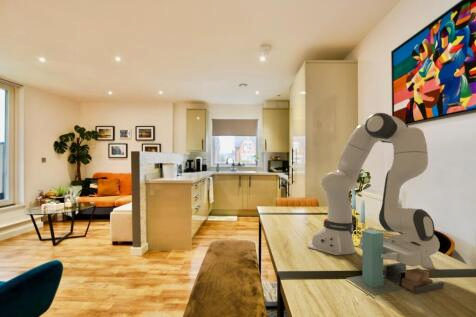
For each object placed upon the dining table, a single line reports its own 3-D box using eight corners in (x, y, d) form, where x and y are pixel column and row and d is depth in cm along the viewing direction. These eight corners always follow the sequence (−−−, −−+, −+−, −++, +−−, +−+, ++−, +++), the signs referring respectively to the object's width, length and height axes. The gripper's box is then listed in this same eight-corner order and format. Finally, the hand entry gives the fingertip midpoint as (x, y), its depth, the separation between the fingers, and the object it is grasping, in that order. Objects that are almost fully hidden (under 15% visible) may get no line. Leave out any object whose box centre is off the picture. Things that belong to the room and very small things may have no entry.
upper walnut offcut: (416, 283, 79) (416, 275, 79) (405, 278, 82) (405, 271, 82) (428, 279, 82) (428, 272, 82) (417, 275, 85) (417, 268, 85)
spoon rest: (384, 249, 122) (384, 235, 122) (409, 250, 120) (409, 236, 120) (413, 270, 98) (413, 252, 98) (444, 271, 97) (444, 253, 97)
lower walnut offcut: (413, 291, 79) (413, 283, 79) (401, 285, 83) (401, 278, 83) (432, 287, 82) (432, 280, 82) (420, 281, 85) (420, 274, 86)
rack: (415, 297, 77) (415, 281, 77) (379, 278, 90) (379, 264, 90) (443, 291, 81) (443, 276, 81) (404, 273, 94) (404, 260, 94)
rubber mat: (374, 298, 76) (374, 295, 76) (346, 280, 88) (346, 278, 88) (402, 292, 80) (402, 289, 80) (371, 276, 91) (371, 273, 91)
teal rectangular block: (372, 287, 81) (372, 233, 82) (362, 281, 85) (362, 230, 85) (383, 285, 83) (383, 232, 83) (373, 279, 87) (373, 229, 87)
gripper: (375, 230, 98) (348, 233, 94) (429, 248, 79) (398, 252, 74) (375, 246, 98) (348, 250, 94) (429, 267, 78) (398, 273, 74)
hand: (370, 251), depth 84 cm, fingers open, 8 cm apart
